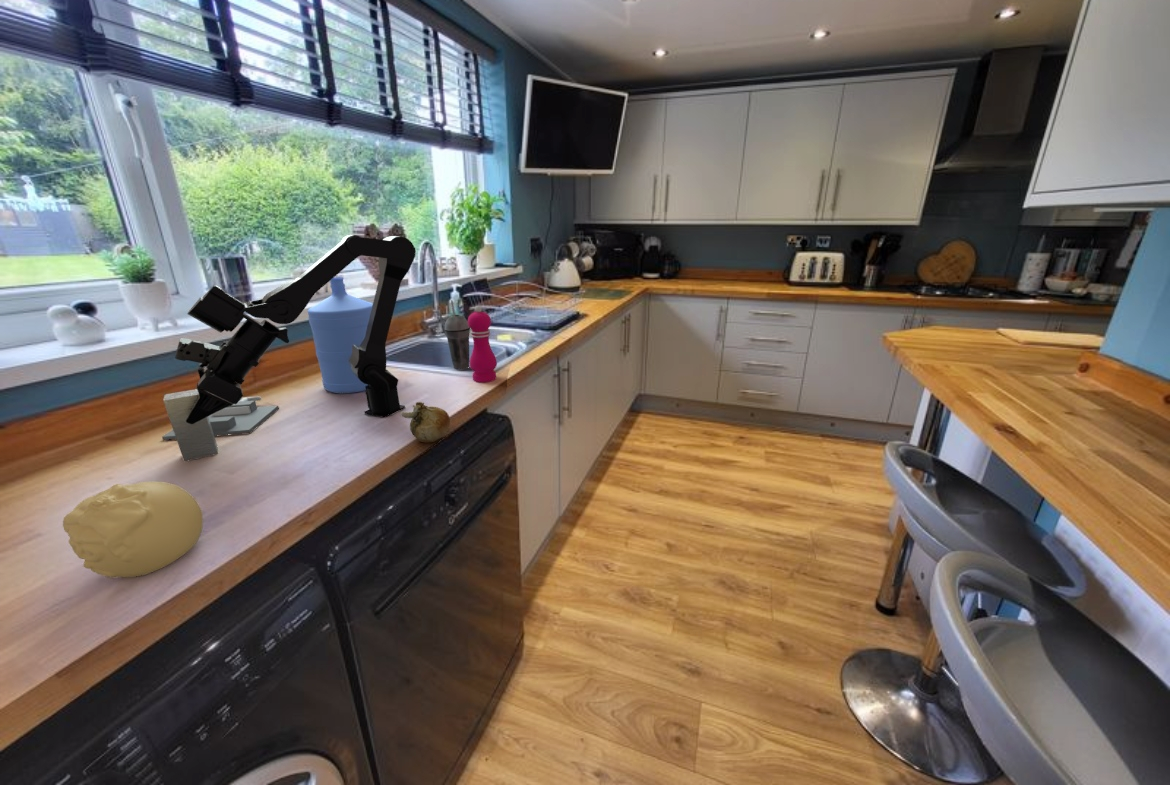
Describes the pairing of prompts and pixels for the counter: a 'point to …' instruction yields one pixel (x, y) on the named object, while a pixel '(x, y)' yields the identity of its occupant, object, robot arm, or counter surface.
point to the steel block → (189, 426)
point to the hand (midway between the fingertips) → (189, 415)
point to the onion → (427, 422)
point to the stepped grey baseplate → (236, 418)
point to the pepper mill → (481, 347)
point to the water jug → (339, 336)
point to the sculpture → (134, 528)
